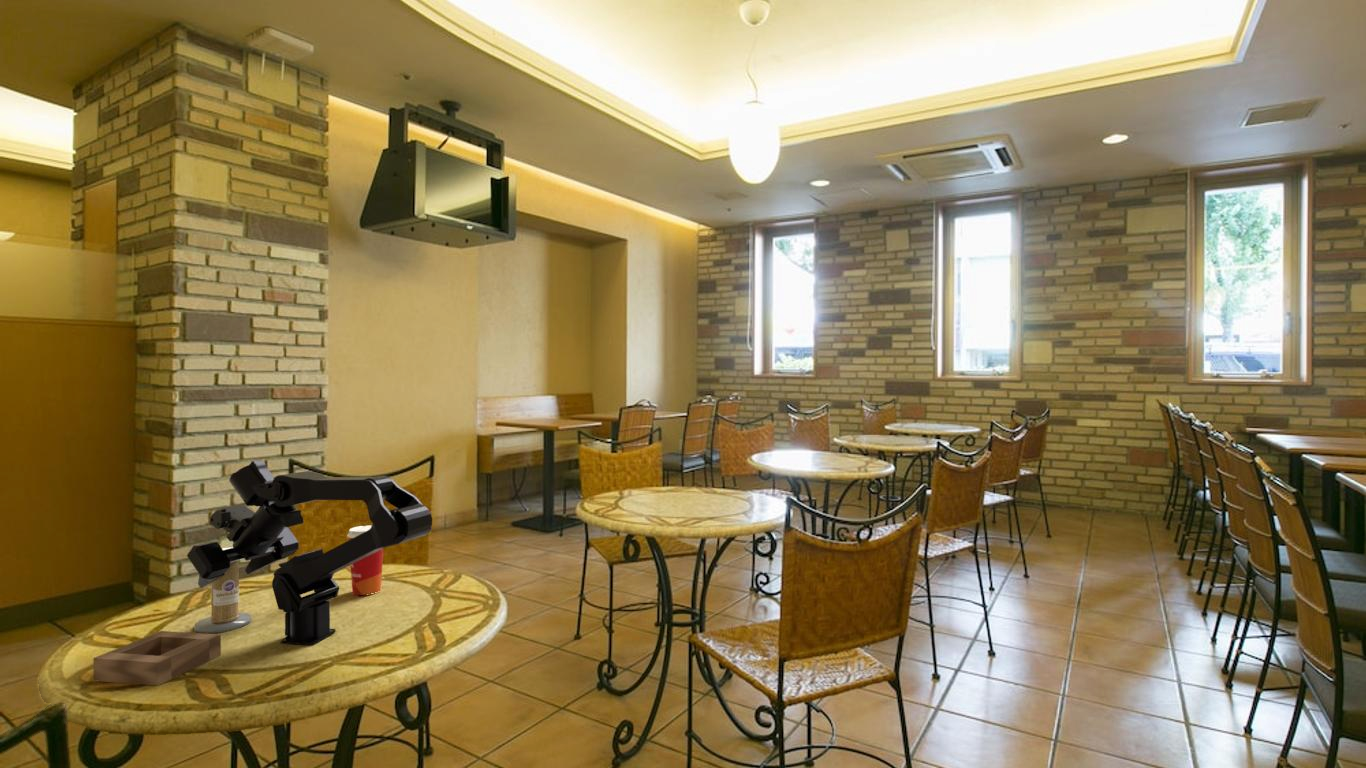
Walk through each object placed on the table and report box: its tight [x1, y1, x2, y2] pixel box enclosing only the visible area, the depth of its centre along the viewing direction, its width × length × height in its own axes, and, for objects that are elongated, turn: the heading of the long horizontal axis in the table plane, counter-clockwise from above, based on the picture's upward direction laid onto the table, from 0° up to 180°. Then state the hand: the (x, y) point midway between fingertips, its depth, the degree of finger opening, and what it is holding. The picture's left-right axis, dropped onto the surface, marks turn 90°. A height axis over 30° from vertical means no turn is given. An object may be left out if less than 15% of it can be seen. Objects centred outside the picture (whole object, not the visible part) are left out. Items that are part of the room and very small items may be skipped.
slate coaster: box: [193, 611, 252, 634], centre depth 129 cm, size 9×9×1 cm
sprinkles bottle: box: [210, 547, 240, 624], centre depth 129 cm, size 5×5×14 cm
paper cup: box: [346, 524, 384, 596], centre depth 149 cm, size 8×8×14 cm
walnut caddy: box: [92, 630, 222, 687], centre depth 110 cm, size 12×12×4 cm
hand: (224, 578), depth 129 cm, fingers open, 9 cm apart
